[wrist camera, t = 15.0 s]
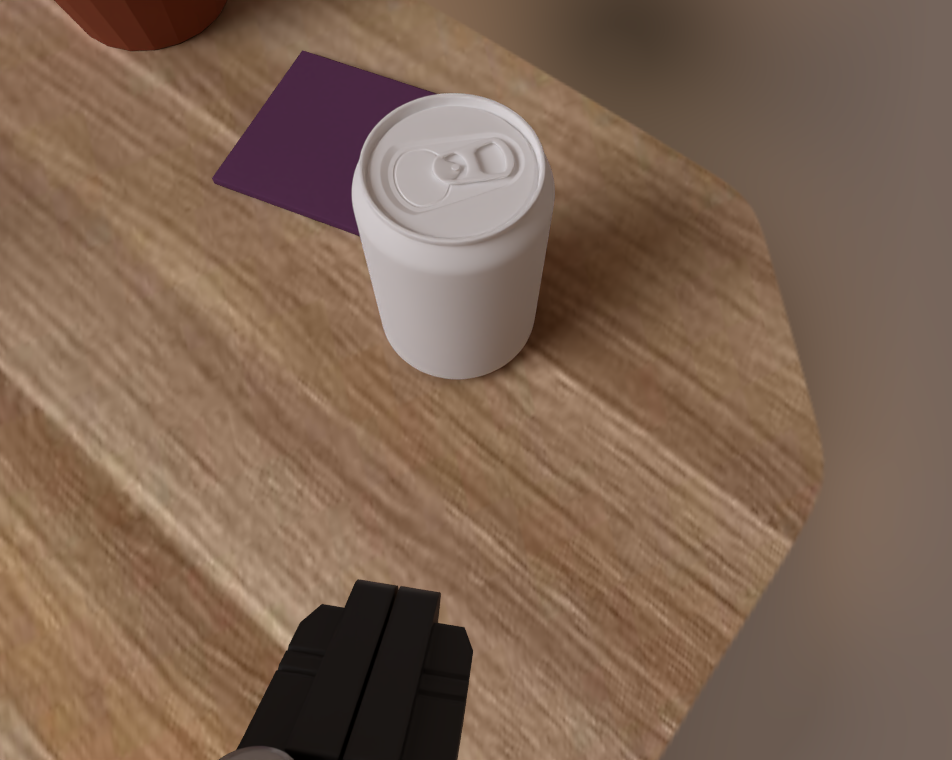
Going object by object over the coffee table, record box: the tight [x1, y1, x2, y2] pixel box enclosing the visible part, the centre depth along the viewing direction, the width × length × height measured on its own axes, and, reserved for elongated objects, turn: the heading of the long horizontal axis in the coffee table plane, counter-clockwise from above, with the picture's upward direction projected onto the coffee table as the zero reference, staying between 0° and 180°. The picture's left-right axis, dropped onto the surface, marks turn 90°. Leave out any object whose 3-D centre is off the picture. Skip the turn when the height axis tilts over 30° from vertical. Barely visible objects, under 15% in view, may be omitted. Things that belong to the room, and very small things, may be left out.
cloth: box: [212, 51, 436, 236], centre depth 42 cm, size 12×11×1 cm
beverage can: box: [352, 93, 555, 379], centre depth 32 cm, size 8×8×12 cm
